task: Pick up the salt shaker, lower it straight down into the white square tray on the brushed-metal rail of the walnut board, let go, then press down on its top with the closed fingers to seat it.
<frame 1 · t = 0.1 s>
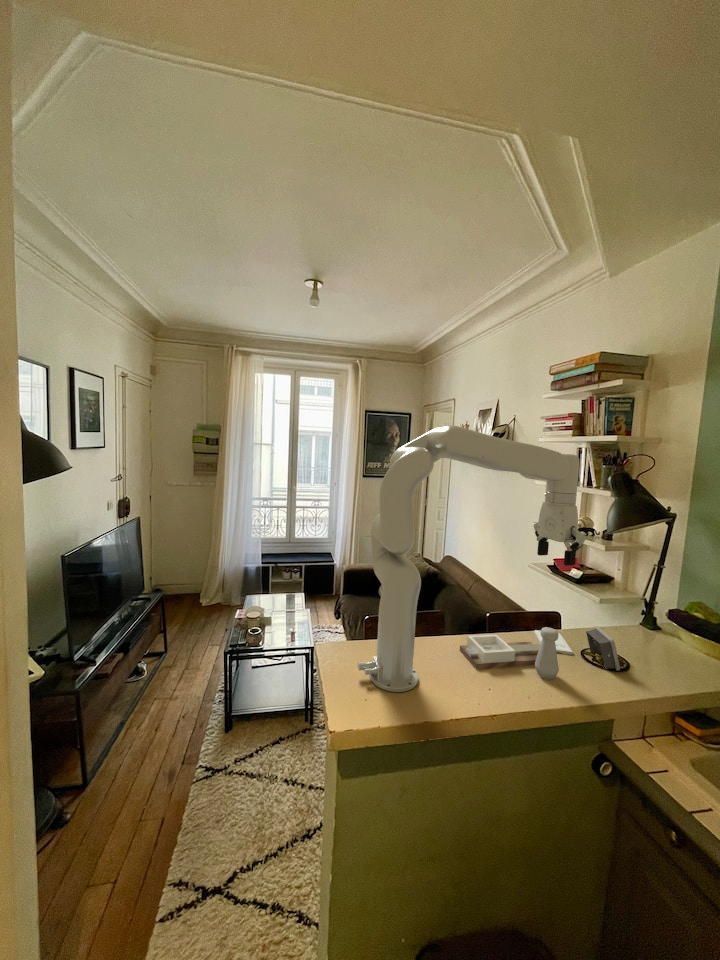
hand: (555, 559, 103), 31 cm above the table, tool pointing down, fingers open, 9 cm apart
white square tray: (490, 648, 109), on the rail board, point 3 cm above the table
rail board: (504, 657, 110), on the table
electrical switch: (602, 663, 110), on the table
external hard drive: (552, 645, 120), on the table
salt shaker: (545, 676, 101), on the table
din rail: (505, 650, 110), on the rail board, point 1 cm above the table
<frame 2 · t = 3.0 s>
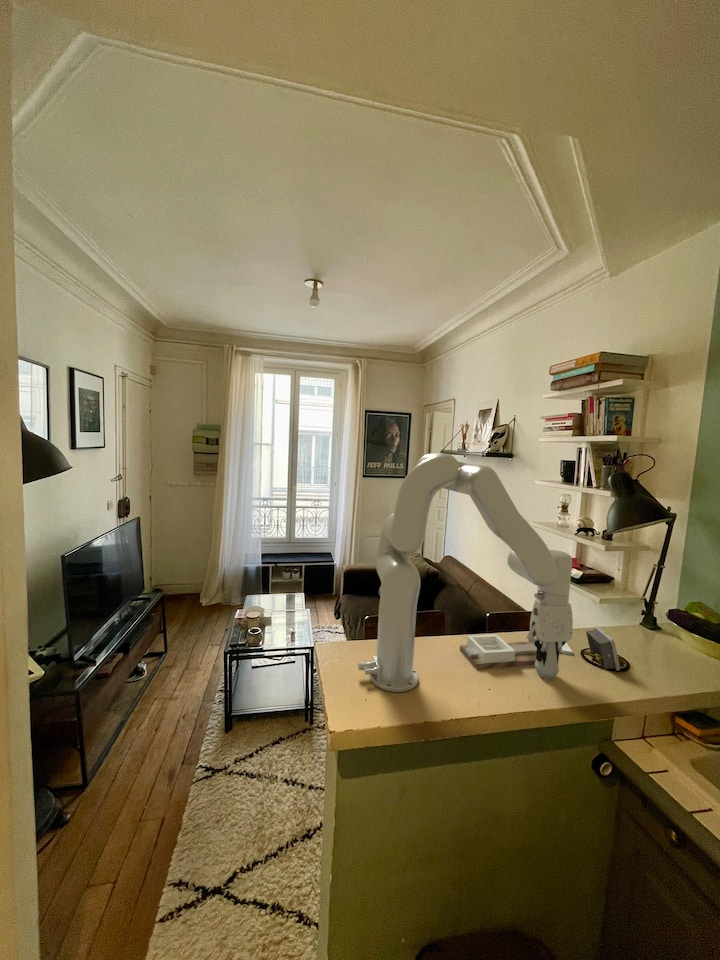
hand: (546, 662, 101), 4 cm above the table, tool pointing down, fingers closed on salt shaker, 3 cm apart
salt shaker: (545, 676, 101), on the table, touching gripper
everything else where it was.
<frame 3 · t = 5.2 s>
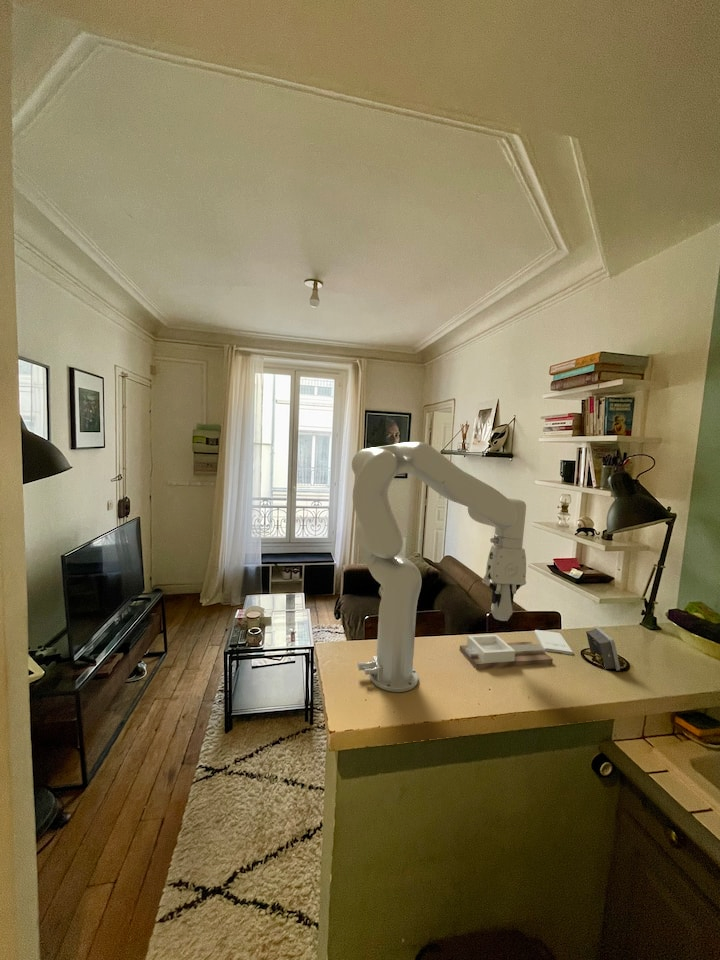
hand: (501, 605, 106), 17 cm above the table, tool pointing down, fingers closed on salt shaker, 3 cm apart
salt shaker: (500, 618, 106), point 13 cm above the table, touching gripper
everything else where it was.
when the fingers open (7 cm above the table, at t = 7.6 s): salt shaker stays where it is, resting on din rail, white square tray.
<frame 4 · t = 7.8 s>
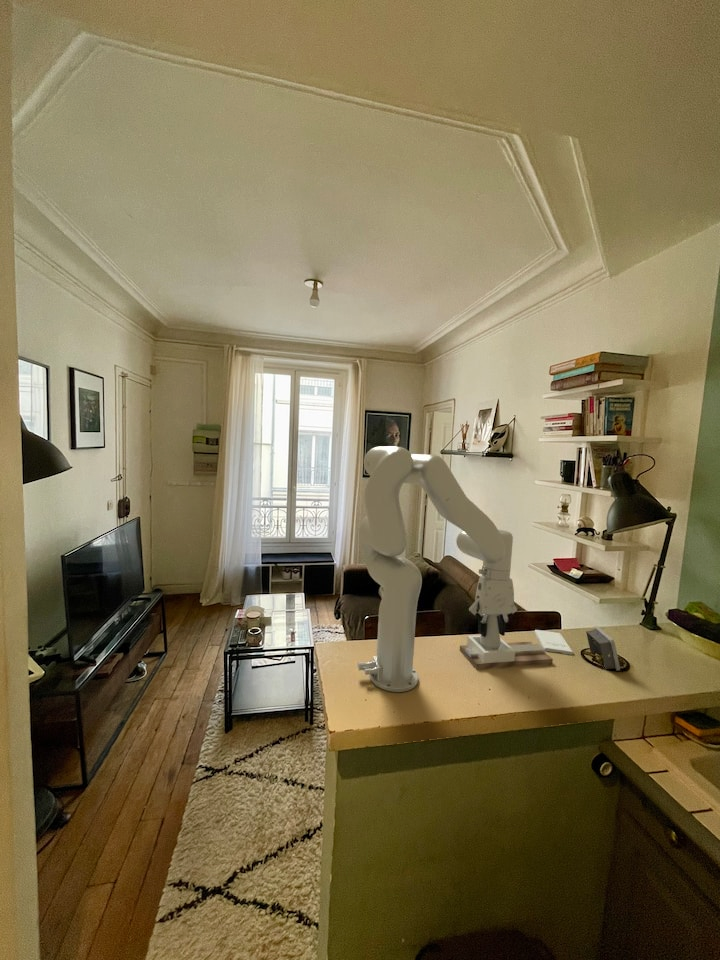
hand: (491, 633, 108), 7 cm above the table, tool pointing down, fingers open, 5 cm apart
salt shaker: (489, 650, 109), point 2 cm above the table, touching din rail, white square tray
everything else where it was.
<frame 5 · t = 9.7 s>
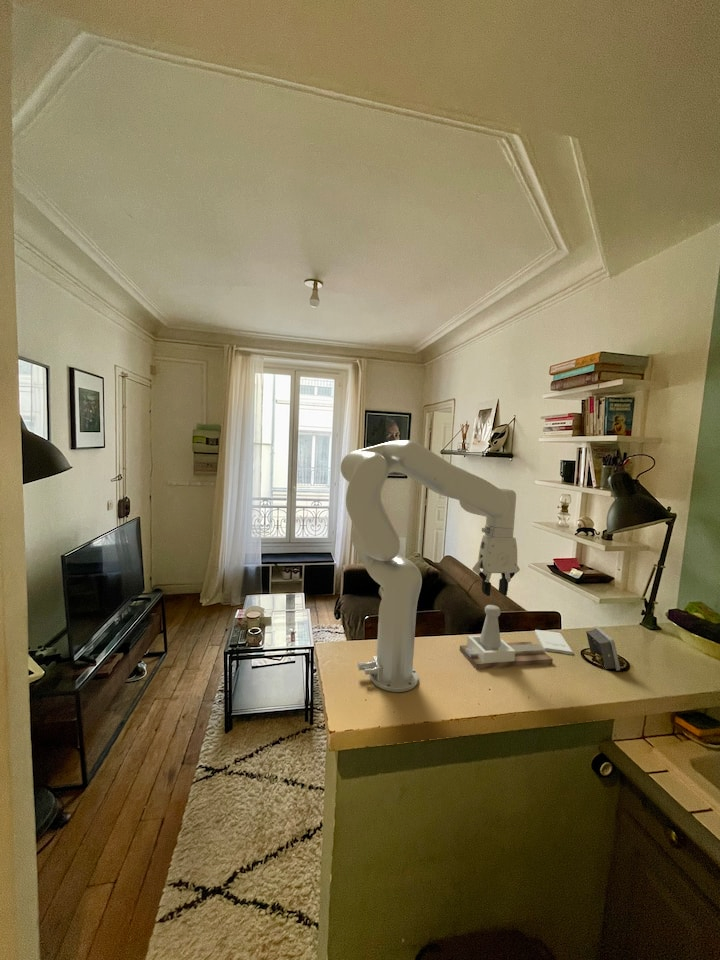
hand: (494, 593, 107), 19 cm above the table, tool pointing down, fingers open, 4 cm apart
nothing on the table moved.
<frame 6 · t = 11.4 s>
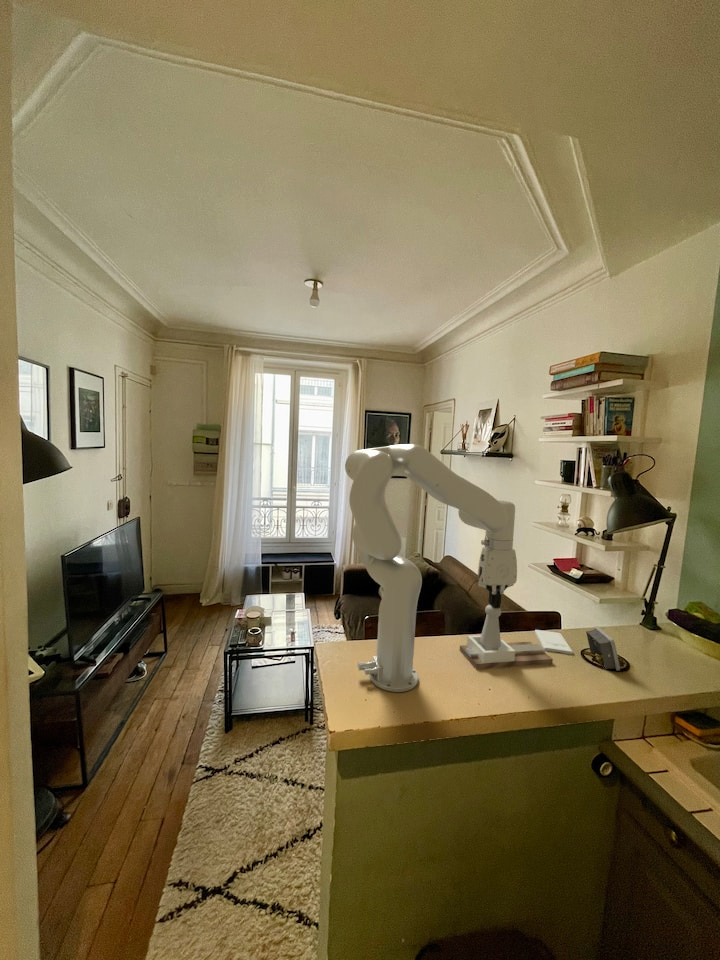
hand: (494, 606, 108), 16 cm above the table, tool pointing down, fingers closed
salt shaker: (489, 650, 109), point 2 cm above the table, touching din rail, gripper, white square tray
everything else where it was.
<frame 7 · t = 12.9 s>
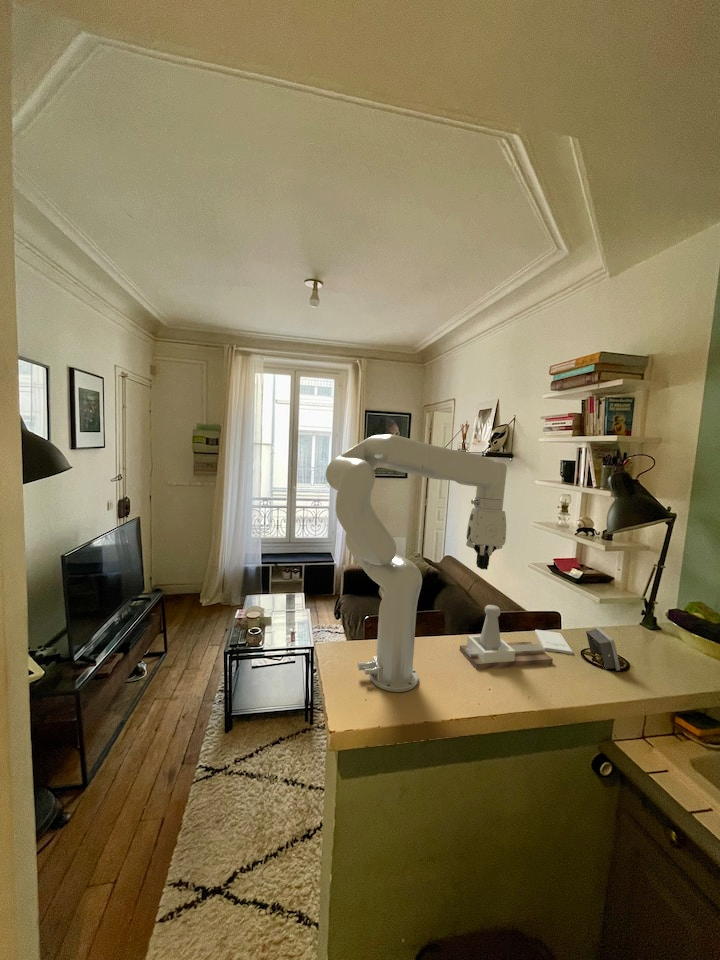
hand: (481, 567, 107), 27 cm above the table, tool pointing down, fingers closed
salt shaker: (489, 650, 109), point 2 cm above the table, touching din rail, white square tray
everything else where it was.
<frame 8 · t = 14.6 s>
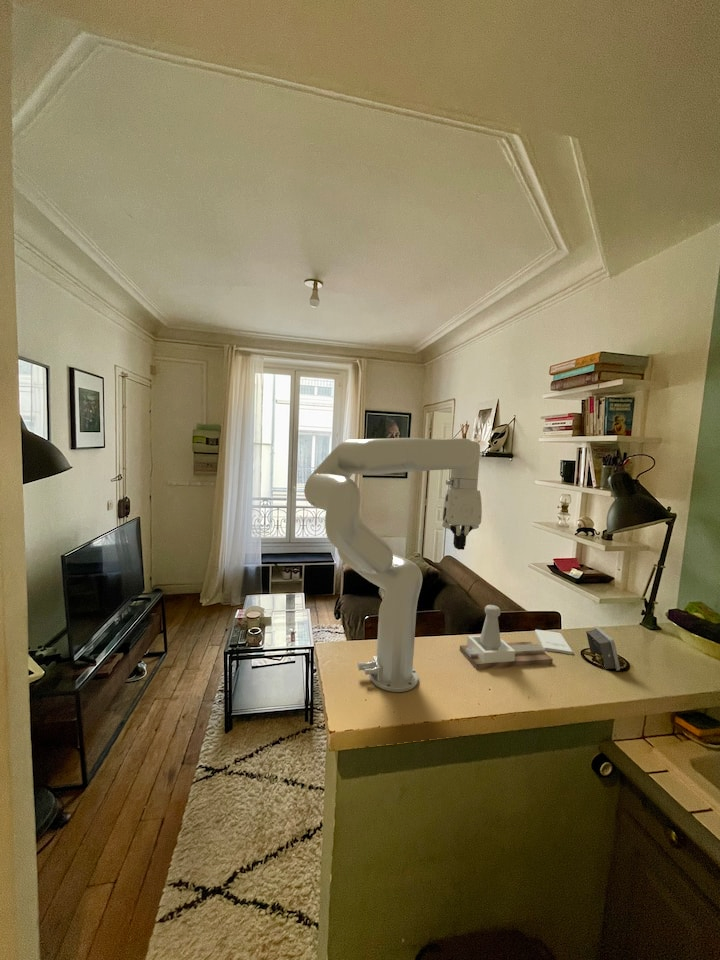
hand: (459, 548, 106), 32 cm above the table, tool pointing down, fingers closed
nothing on the table moved.
at the end: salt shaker 0.1 cm off-centre on the white square tray, point 2.3 cm above the white square tray's base; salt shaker tilted 0°; the gripper is holding nothing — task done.
